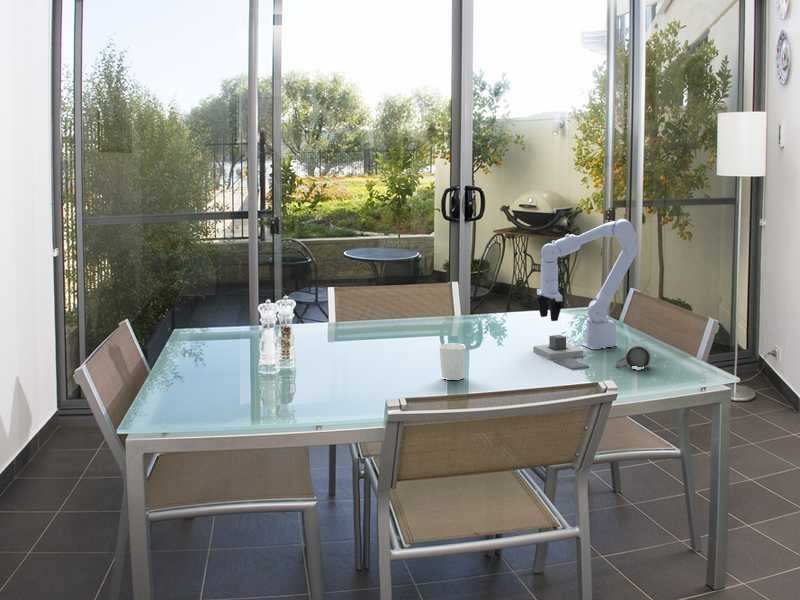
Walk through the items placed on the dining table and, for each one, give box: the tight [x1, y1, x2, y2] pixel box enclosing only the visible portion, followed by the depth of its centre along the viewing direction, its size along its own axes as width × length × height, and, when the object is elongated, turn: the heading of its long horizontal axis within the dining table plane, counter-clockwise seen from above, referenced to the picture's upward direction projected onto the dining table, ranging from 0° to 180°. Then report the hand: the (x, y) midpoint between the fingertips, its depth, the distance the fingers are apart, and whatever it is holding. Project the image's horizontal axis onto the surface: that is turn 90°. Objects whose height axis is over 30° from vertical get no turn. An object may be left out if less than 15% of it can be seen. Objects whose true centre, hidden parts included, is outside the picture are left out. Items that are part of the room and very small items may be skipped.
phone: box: [553, 358, 590, 371], centre depth 295 cm, size 6×11×1 cm, turn 22°
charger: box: [548, 334, 567, 351], centre depth 309 cm, size 4×4×6 cm
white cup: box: [439, 342, 467, 380], centre depth 282 cm, size 8×8×10 cm
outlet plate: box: [532, 342, 584, 361], centre depth 309 cm, size 12×12×2 cm
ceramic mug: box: [614, 342, 652, 369], centre depth 290 cm, size 11×8×8 cm
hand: (549, 318), depth 320 cm, fingers open, 7 cm apart
